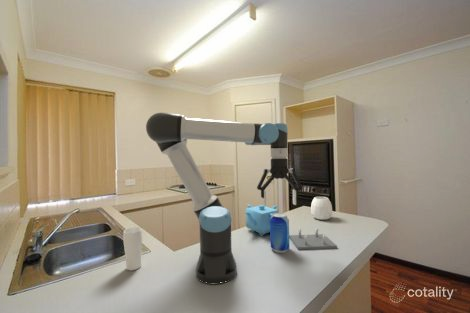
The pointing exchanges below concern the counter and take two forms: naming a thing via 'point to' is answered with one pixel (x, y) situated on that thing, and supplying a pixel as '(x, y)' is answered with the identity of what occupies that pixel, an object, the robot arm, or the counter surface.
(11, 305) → the counter surface
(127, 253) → the white cylinder
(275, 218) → the beer can
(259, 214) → the teakettle
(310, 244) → the pegboard
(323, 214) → the cup
